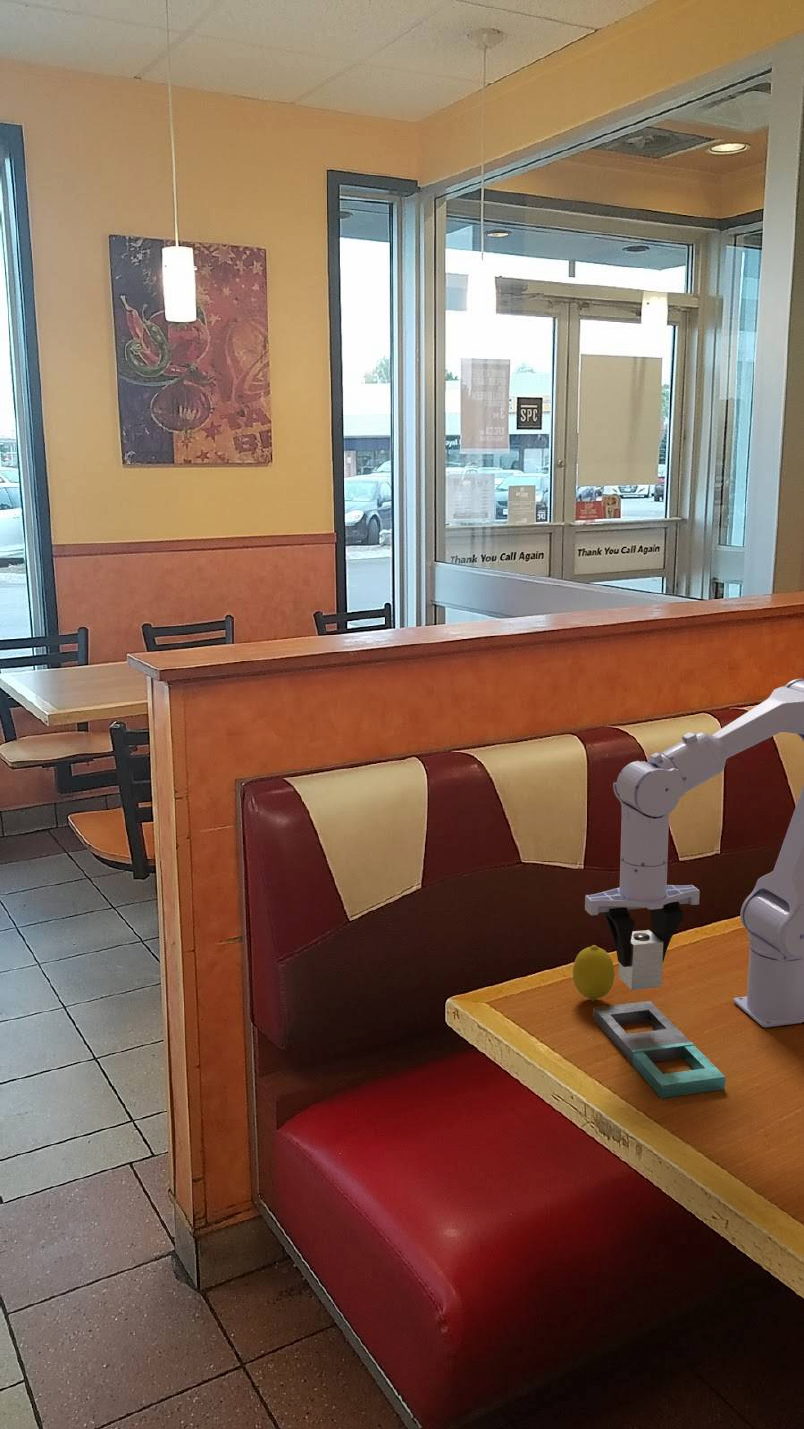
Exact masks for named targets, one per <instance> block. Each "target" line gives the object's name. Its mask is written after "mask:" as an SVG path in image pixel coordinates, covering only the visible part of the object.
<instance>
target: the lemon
mask: <svg viewBox="0 0 804 1429" xmlns="http://www.w3.org/2000/svg"><path fill="white" fill-rule="evenodd" d="M573 963H574V964H573V968H572V978H573V979H572V980H573V983H574V986H575V988H576V989H577V991H578V992H579V993H580V994H581V995H582V996H583V997H585V998H588V999H589V1000H590V1001H591V1002H595V1001H597V1000H598V999H601V998H603V997H605V996H606V995H607V994H608V993H609V992H610V991H611V990H612V987H613V985H614V981H615V966H614V962H613V959H612V957H611V956H610V954H609V953H608V952H607V951H606V950H605V949H604V948H600V947H598V946H597V945H595V944H592V945H591V946H587V947H586V948H584V949H582V950H580V952H579V953H577V955H576V957H575V960H574V962H573Z"/></svg>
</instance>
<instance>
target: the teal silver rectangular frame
mask: <svg viewBox="0 0 804 1429" xmlns="http://www.w3.org/2000/svg"><path fill="white" fill-rule="evenodd" d="M592 1014H593V1016H592V1017H593V1020H594V1022H596V1024H597V1026H599V1028H600V1029H601V1030H602V1031H603V1032H604V1034H605V1035H607V1037H608V1038H609V1040H611V1042H612V1043H613V1044H614V1045H615V1046H616V1047H617V1049H618V1050H619V1051H620V1052H621V1053H622V1054H623V1055H624V1056H625V1058H626V1059H627V1060H628V1062H629V1063H630V1064H631V1065H632V1066H633V1067H634V1069H635V1070H636V1071H637V1073H638V1074H639V1075H641V1076H642V1077H643V1079H644V1081H645V1082H646V1083H647V1084H648V1085H649V1086H650V1087H651V1088H652V1089H653V1091H654V1092H655V1093H656V1094H657V1095H658V1097H659V1098H660V1099H667V1098H674V1097H680V1096H687V1095H694V1094H701V1093H708V1092H709V1093H710V1092H715V1091H723V1090H725V1089H726V1075H724V1074H723V1073H722V1072H721V1071H720V1070H719V1069H718V1067H716V1065H714V1064H713V1063H712V1062H711V1061H710V1059H709V1058H708V1057H707V1056H706V1055H705V1054H704V1053H703V1052H702V1051H700V1050H699V1049H698V1047H696V1045H695V1044H694V1042H692V1041H691V1040H690V1039H689V1038H687V1036H686V1035H684V1033H683V1032H682V1031H681V1030H679V1028H677V1026H676V1025H674V1023H673V1022H672V1021H671V1020H670V1019H669V1018H668V1017H667V1016H666V1015H665V1014H664V1013H663V1012H662V1011H661V1010H660V1009H659V1008H658V1007H657V1006H656V1005H655V1004H654V1003H653V1002H652V1000H647V1001H640V1002H639V1001H638V1002H631V1003H630V1002H629V1003H621V1004H615V1005H605V1006H596V1007H593V1012H592ZM643 1022H644V1023H645V1022H649V1024H650V1025H651V1026H652V1027H653V1028H654V1029H655V1030H647V1031H641V1032H633V1033H627V1032H626V1030H624V1028H623V1027H622V1026H621V1025H628V1024H634V1023H643ZM681 1059H682V1060H685V1062H687V1064H689V1066H690V1067H691V1068H692V1069H689V1070H684V1071H683V1070H682V1071H676V1072H668V1073H662V1071H661V1070H660V1069H659V1067H657V1065H655V1063H661V1062H667V1061H673V1060H681Z"/></svg>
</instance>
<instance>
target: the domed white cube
mask: <svg viewBox="0 0 804 1429" xmlns="http://www.w3.org/2000/svg"><path fill="white" fill-rule="evenodd" d="M662 960H663V941H662V940H660V939H659V938H658V937H657V936H656V935H655V934H653V933H652V930H650V929H646V930H635V931H634V930H633V932H632V937H631V955H630V964H629V967H623V966H622V965H621V964H620V963H619V962H618V978H619V979H620V981H622V982H623V984H625V985H626V986H627V987H628V988H629V989H630V990H631V991H637V990H648V989H654V988H655V989H656V988H662V983H663V982H662V981H663V980H662V979H663V978H662V977H663V963H662Z"/></svg>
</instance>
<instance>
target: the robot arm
mask: <svg viewBox="0 0 804 1429" xmlns="http://www.w3.org/2000/svg"><path fill="white" fill-rule="evenodd" d="M771 692H772V693H771V694H770V696H769V697H768V698H767V699H764V701H762V702H760V703H759V704H757V705H756V706H754V707H753V708H752V709H750V710H748V711H746V712H745V713H744V714H741V716H739V717H737V718H736V719H735V720H733V721H731V722H730V723H728V724H727V725H725V726H723V727H722V728H720V729H719V730H717V731H716V732H714V733H713V734H711V735H710V734H707V733H705V732H702V731H698V732H696V733H693V732H690V731H689V732H687V733H685V734H683V735H681V739H682V740H681V741H680V742H677V743H676V744H673V745H672V746H671V747H668V748H667V749H665V750H663V751H661V752H660V753H658V752H655V753H652V754H651V755H650V756H649V759H648V760H647V761H644V760H641V761H640V760H635V761H632V762H629V763H628V764H627V765H626V766H624V767H623V768H622V769H621V771H620V772H619V774H618V776H617V778H616V781H615V782H613V784H612V788H613V792H614V795H615V797H616V798H617V799H618V801H619V802H620V805H621V807H620V808H621V811H620V812H621V822H620V823H621V825H620V827H621V828H620V830H621V832H620V858H619V859H620V861H619V862H620V864H619V868H620V869H619V887H617V888H612V889H609V890H605V891H602V892H598V893H595V894H594V893H593V894H585V897H584V911H585V912H587V914H588V915H590V916H598V915H599V913H601V914H602V915H603V917H604V919H605V921H606V923H607V926H608V928H609V930H610V934H611V936H612V939H613V943H614V946H615V952H616V957H617V962H618V964H619V963H620V964H621V965H622V966H623V967H629V964H630V955H631V937H632V932H633V931H634V927H635V924H636V921H635V920H634V919H632V918H631V917H630V916H631V915H630V912H628V910H636V909H645V908H646V909H647V910H649V913H650V914H649V915H650V922H651V932H652V933H653V934H655V935H656V936H657V937H658V938H659V939H660V940H662V941H663V960H662V964H663V963H664V960H665V957H666V954H667V951H668V947H669V945H670V942H671V940H672V937H673V936H674V933H675V932H676V930H677V929H678V927H679V925H681V923H682V921H683V920H684V917H685V916H684V915H685V911H684V910H683V909H682V908H680V907H681V906H680V905H686V904H689V905H690V906H697V905H700V889H698V888H697V887H696V886H694V885H693V884H687V885H685V884H683V885H677V884H675V885H673V884H668V883H667V880H668V857H669V855H668V853H669V827H670V814H671V813H672V812H673V811H674V809H676V807H677V806H678V803H679V801H680V799H681V798H682V797H683V796H685V795H686V793H688V792H690V791H692V790H693V789H695V788H697V787H699V786H700V785H702V784H704V783H706V782H708V781H709V780H711V779H713V778H714V777H716V776H718V775H720V774H721V773H722V772H723V771H724V770H725V766H726V762H727V760H728V759H729V758H731V757H733V756H735V755H737V754H739V753H741V752H743V751H745V750H747V749H749V748H751V747H754V746H755V745H757V744H760V743H762V742H763V741H765V740H767V739H769V738H772V737H774V736H775V735H779V734H780V733H789V734H797V736H799V738H800V739H801V740H802V742H803V743H804V678H796V679H793V680H791V681H789V682H787V683H786V684H785V685H784V686H780V687H777V688H775V689H773V690H772V691H771ZM739 915H740V922H741V924H742V926H743V927H744V928H745V930H746V931H747V932H748V936H747V938H748V941H749V951H748V952H749V957H748V970H747V971H748V974H747V991H746V996H739V997H734V998H733V1002H734V1003H735V1005H737V1007H739V1008H740V1009H742V1011H744V1012H745V1013H746V1015H747V1014H748V1016H750V1017H751V1018H752V1019H753V1020H754V1021H755V1022H756V1023H758V1024H759V1025H760V1026H761V1027H763V1028H770V1027H771V1028H772V1027H779V1026H786V1025H787V1026H789V1025H795V1024H802V1022H804V784H803V785H802V789H801V791H800V793H799V797H798V799H797V802H796V805H795V808H794V810H793V814H792V817H791V819H790V822H789V825H788V828H787V830H786V834H785V837H784V839H783V843H782V845H781V849H780V852H779V854H778V857H777V860H776V861H775V865H774V868H773V870H772V871H770V872H769V873H767V874H764V875H762V876H761V877H759V878H758V879H757V881H756V883H755V886H754V888H753V890H752V891H751V892H750V894H749V895H748V896H747V897H746V898H745V900H744V901H743V903H742V905H741V908H740V913H739Z"/></svg>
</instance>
